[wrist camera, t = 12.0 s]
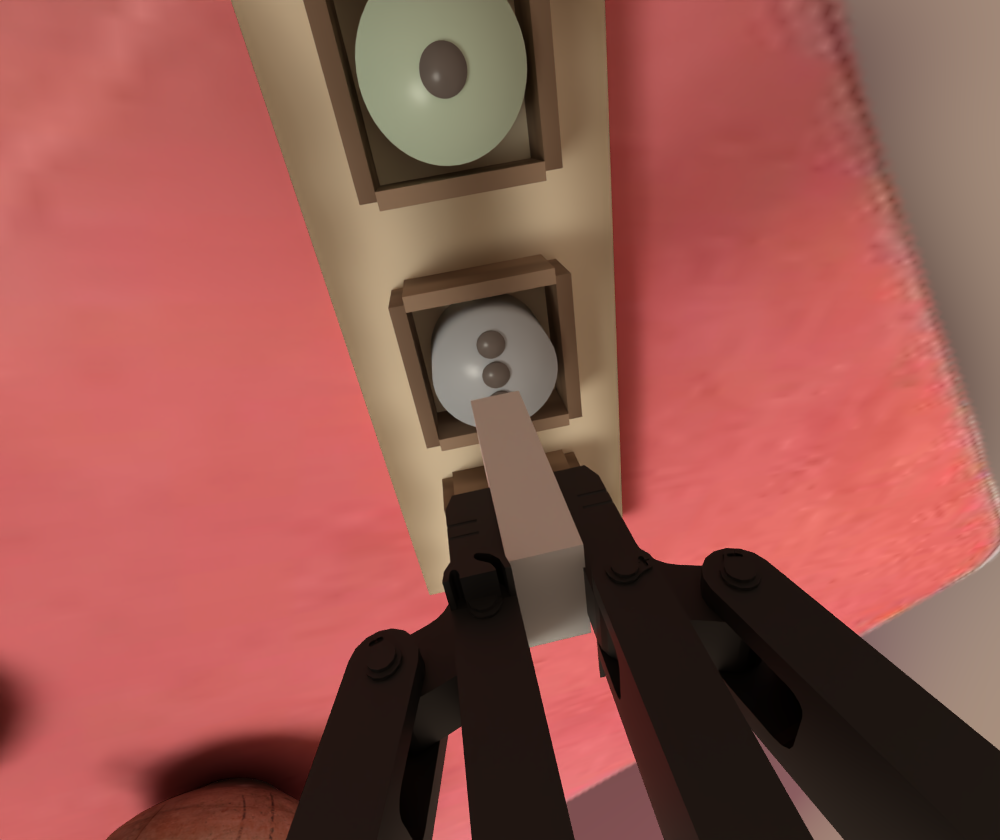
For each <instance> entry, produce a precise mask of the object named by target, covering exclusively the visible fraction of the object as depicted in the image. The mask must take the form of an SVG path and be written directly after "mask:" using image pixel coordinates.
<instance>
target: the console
mask: <svg viewBox="0 0 1000 840" xmlns="http://www.w3.org/2000/svg"><path fill="white" fill-rule="evenodd" d="M231 2H232V5H233V8H234V11H235V14H236V17H237V20H238V23H239V26H240V29H241V32H242V35H243V38H244V41H245V44H246V47H247V50H248V53H249V56H250V59H251V62H252V65H253V68H254V71H255V74H256V77H257V80H258V83H259V86H260V89H261V92H262V95H263V98H264V101H265V104H266V107H267V110H268V113H269V116H270V119H271V122H272V125H273V128H274V131H275V134H276V137H277V140H278V143H279V146H280V149H281V152H282V155H283V158H284V160H285V163H286V166H287V169H288V172H289V175H290V178H291V181H292V184H293V187H294V190H295V193H296V196H297V199H298V202H299V205H300V208H301V211H302V214H303V217H304V220H305V223H306V226H307V229H308V232H309V235H310V238H311V241H312V244H313V247H314V250H315V253H316V256H317V259H318V262H319V265H320V268H321V271H322V274H323V277H324V280H325V283H326V286H327V289H328V292H329V295H330V298H331V301H332V304H333V307H334V310H335V313H336V316H337V319H338V322H339V325H340V328H341V331H342V334H343V337H344V340H345V343H346V346H347V349H348V352H349V355H350V358H351V361H352V364H353V367H354V370H355V373H356V376H357V379H358V382H359V385H360V388H361V391H362V394H363V397H364V400H365V403H366V406H367V409H368V412H369V415H370V418H371V421H372V424H373V427H374V430H375V433H376V436H377V439H378V442H379V445H380V448H381V451H382V454H383V457H384V460H385V463H386V466H387V469H388V472H389V475H390V478H391V481H392V484H393V487H394V490H395V493H396V496H397V499H398V502H399V505H400V508H401V511H402V514H403V517H404V520H405V523H406V526H407V529H408V532H409V535H410V538H411V540H412V543H413V546H414V549H415V552H416V555H417V558H418V561H419V564H420V567H421V570H422V573H423V576H424V579H425V582H426V585H427V588H428V591H429V594H430V595H432V594H437V593H441V592H445V590H444V587H443V584H442V580H443V574H444V571H445V569H446V568H447V566H448V564H449V563H450V555H449V545H448V534H447V524H446V514H445V510H446V508H447V506H448V503H449V501H450V499H451V497H452V496H453V495H457V494H462V493H466V492H471V491H475V490H480V489H484V488H489V486H488V481H487V477H486V473H485V468H484V463H483V458H482V453H481V449H480V444H479V439H478V434H477V430H476V427H474V426H471V425H468V424H466V423H464V422H462V421H460V420H458V419H457V418H455V417H454V416H453V415H451V414H450V413H449V412H448V411H447V410H446V409H445V408H444V407H443V405H442V404H441V402H440V401H439V399H438V397H437V395H436V392H435V389H434V385H433V379H432V359H431V338H432V333H433V329H434V327H435V325H436V322H437V321H438V319H439V317H440V316H441V314H442V313H443V312H444V311H445V310H446V309H447V308H448V307H449V306H450V305H451V304H455V303H460V302H465V301H470V300H476V299H481V298H486V297H491V296H496V295H502V294H509V295H511V296H513V297H515V298H517V299H519V300H520V301H522V302H523V303H524V304H525V305H527V307H528V308H529V309H530V310H531V311H532V312H533V314H534V315H535V317H536V318H537V320H538V322H539V323H540V325H541V326H542V328H543V330H544V331H545V333H546V334H547V336H548V338H549V339H550V341H551V343H552V345H553V347H554V350H555V353H556V357H557V364H558V371H557V378H556V382H555V386H554V388H553V391H552V393H551V395H550V396H549V398H548V399H547V401H546V402H545V404H544V405H543V406H542V407H541V408H540V409H539V410H538V411H537V412H536V413H534V414H533V415H532V416H530V418H531V421H532V423H533V426H534V428H535V430H536V433H537V435H538V437H539V440H540V442H541V445H542V447H543V449H544V452H545V454H546V457H547V459H548V461H549V464H550V466H551V468H552V471H553V472H555V471H560V470H564V469H569V468H573V467H578V466H582V465H585V466H587V467H588V468H589V469H591V470H592V471H594V472H595V473H596V474H598V475H599V476H600V478H601V480H602V482H603V484H604V486H605V487H606V490H607V491H608V493H609V495H610V497H611V498H612V501H613V503H614V504H615V506H616V508H617V509H618V511H619V513H620V515H621V517H622V490H621V460H620V431H619V402H618V372H617V343H616V313H615V284H614V255H613V225H612V196H611V166H610V137H609V107H608V78H607V49H606V19H605V0H507V2H508V3H509V5H510V6H511V8H512V10H513V12H514V14H515V16H516V18H517V21H518V24H519V26H520V29H521V32H522V36H523V40H524V44H525V50H526V58H527V79H526V88H525V94H524V98H523V101H522V105H521V108H520V111H519V113H518V115H517V118H516V120H515V122H514V124H513V125H512V127H511V129H510V130H509V132H508V133H507V134H506V136H505V137H504V138H503V140H502V141H501V142H500V143H499V144H498V145H497V146H496V147H495V148H493V149H492V150H491V151H490V152H488V153H487V154H485V155H484V156H482V157H480V158H478V159H476V160H474V161H471V162H469V163H465V164H461V165H453V166H439V165H434V164H429V163H426V162H423V161H420V160H417V159H415V158H413V157H411V156H409V155H408V154H406V153H405V152H403V151H402V150H400V149H399V148H397V147H396V146H395V145H394V144H393V143H392V142H391V141H390V140H389V139H388V138H387V137H386V136H385V135H384V134H383V133H382V132H381V130H380V129H379V127H378V126H377V125H376V123H375V122H374V120H373V118H372V117H371V115H370V113H369V111H368V109H367V107H366V104H365V102H364V100H363V97H362V94H361V91H360V87H359V83H358V78H357V73H356V62H355V45H356V37H357V30H358V26H359V23H360V19H361V16H362V13H363V11H364V8H365V6H366V4H367V2H368V0H231Z"/></svg>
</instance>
